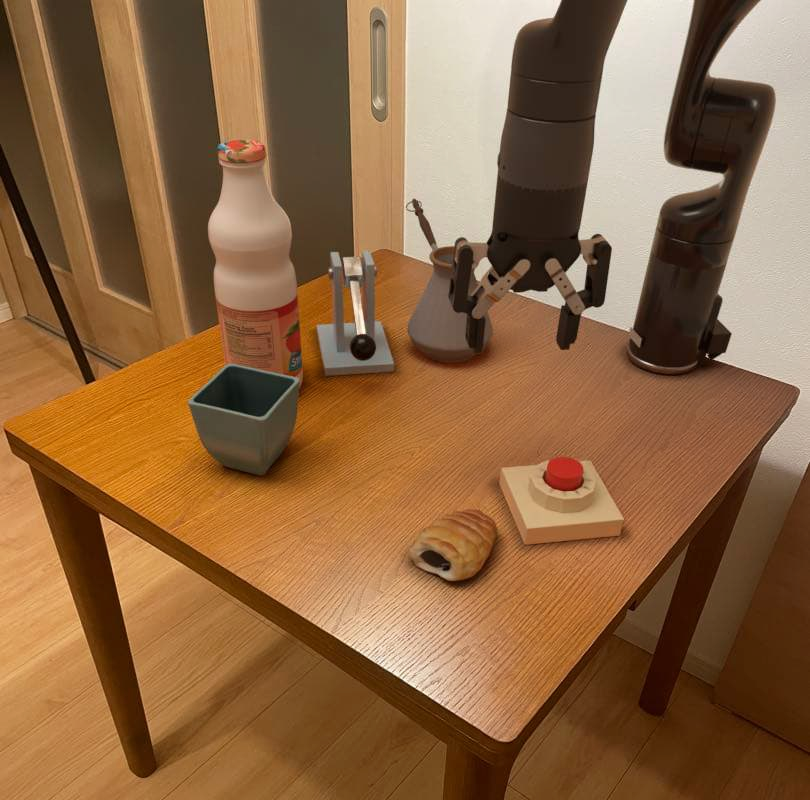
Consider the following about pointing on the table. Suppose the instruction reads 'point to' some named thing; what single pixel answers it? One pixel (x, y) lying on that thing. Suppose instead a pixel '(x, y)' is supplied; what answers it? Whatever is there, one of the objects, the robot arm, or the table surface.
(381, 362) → the bracket
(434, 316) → the coffee pot
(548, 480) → the button
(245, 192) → the fruit juice
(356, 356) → the lever
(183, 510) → the table surface
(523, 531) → the button block
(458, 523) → the pastry
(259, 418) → the flower pot
